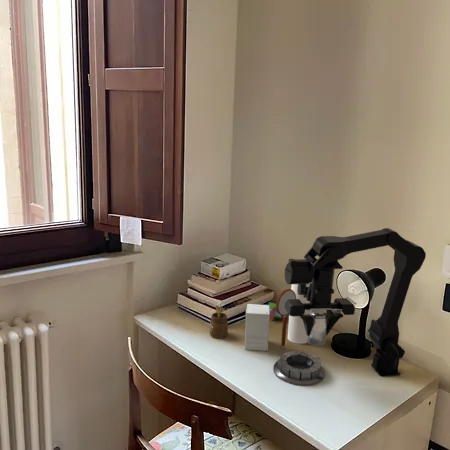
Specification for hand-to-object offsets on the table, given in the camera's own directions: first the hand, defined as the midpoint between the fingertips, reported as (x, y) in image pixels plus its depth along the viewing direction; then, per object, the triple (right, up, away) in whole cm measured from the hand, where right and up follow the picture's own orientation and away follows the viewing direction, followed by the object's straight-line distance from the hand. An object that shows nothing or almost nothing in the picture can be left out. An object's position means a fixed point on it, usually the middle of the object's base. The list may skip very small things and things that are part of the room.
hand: (316, 335), depth 145 cm
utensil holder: (-28, -6, +26) cm, 39 cm away
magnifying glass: (-7, -8, +19) cm, 22 cm away
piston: (0, -2, 0) cm, 2 cm away
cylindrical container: (-1, -7, +26) cm, 27 cm away
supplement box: (-16, -8, +20) cm, 27 cm away
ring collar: (-4, -12, +5) cm, 14 cm away
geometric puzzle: (-8, -3, +40) cm, 41 cm away
